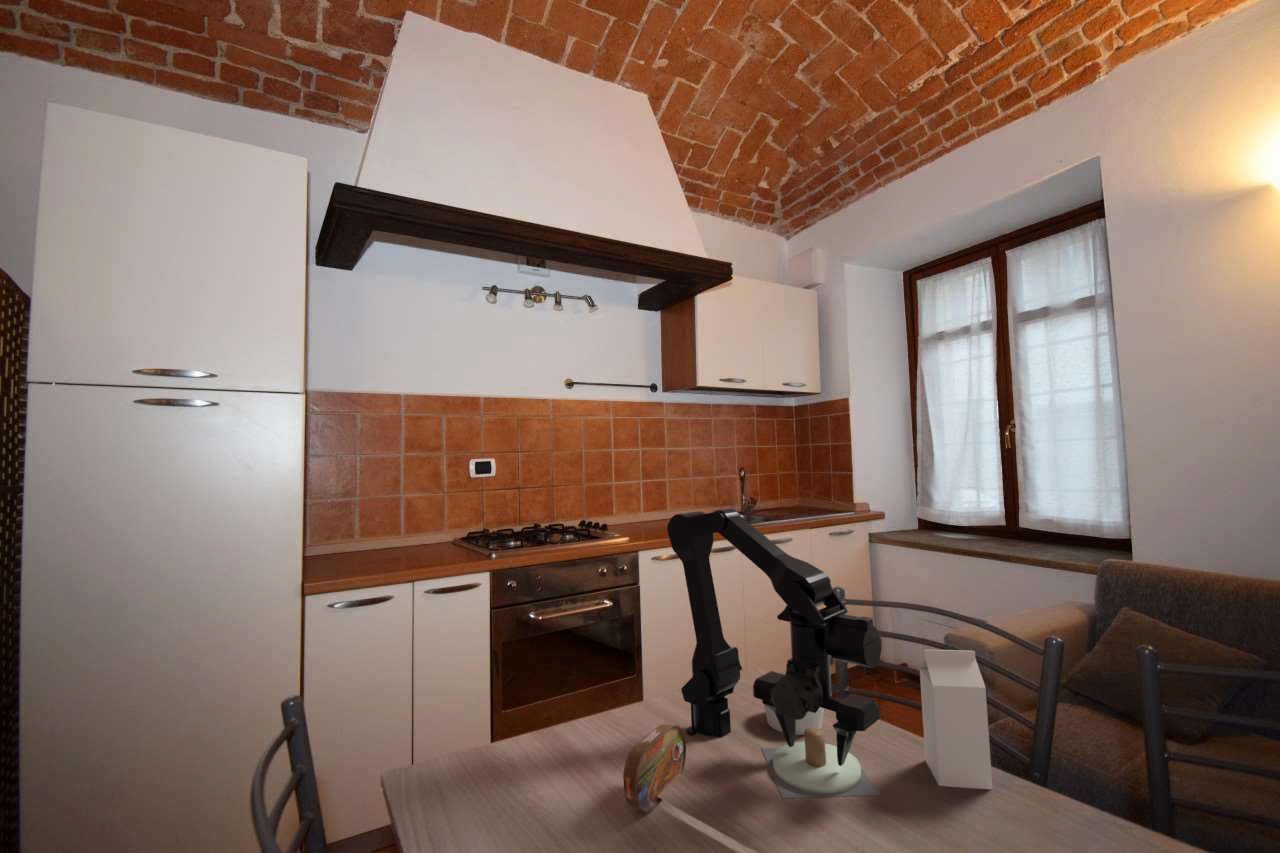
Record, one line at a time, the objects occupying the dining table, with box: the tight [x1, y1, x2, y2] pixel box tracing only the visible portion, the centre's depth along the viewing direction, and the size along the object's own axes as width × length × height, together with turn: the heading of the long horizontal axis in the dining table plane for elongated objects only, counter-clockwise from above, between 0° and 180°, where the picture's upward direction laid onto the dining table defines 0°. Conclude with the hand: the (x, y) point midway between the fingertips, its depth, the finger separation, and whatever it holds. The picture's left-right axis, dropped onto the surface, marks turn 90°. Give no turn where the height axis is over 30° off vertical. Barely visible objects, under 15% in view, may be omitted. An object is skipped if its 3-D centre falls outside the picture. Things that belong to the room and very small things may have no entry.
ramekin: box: [763, 704, 825, 736], centre depth 105 cm, size 11×11×5 cm
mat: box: [761, 747, 881, 800], centre depth 89 cm, size 14×14×1 cm
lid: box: [773, 728, 862, 794], centre depth 89 cm, size 13×13×6 cm
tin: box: [622, 724, 687, 813], centre depth 86 cm, size 15×3×8 cm, turn 149°
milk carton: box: [919, 649, 993, 790], centre depth 87 cm, size 7×7×19 cm
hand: (815, 755), depth 89 cm, fingers open, 8 cm apart
